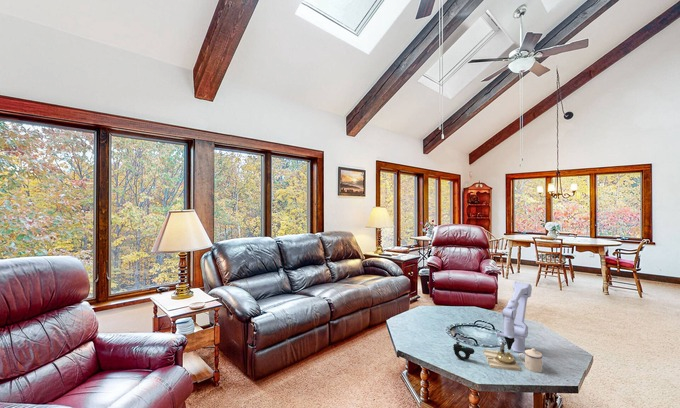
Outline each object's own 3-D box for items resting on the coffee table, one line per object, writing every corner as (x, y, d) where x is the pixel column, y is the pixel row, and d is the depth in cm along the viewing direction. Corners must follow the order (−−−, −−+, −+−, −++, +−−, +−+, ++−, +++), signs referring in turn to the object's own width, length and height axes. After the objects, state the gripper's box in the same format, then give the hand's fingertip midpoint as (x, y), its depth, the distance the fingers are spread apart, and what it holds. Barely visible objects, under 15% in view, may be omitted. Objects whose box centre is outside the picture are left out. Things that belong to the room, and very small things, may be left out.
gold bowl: (515, 364, 178) (515, 352, 178) (499, 362, 180) (499, 350, 180) (509, 353, 191) (509, 342, 190) (493, 352, 193) (493, 341, 193)
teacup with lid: (542, 367, 179) (542, 347, 179) (542, 374, 171) (542, 354, 171) (519, 361, 186) (519, 342, 185) (518, 368, 178) (518, 348, 178)
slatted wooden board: (483, 351, 197) (483, 349, 197) (510, 354, 193) (510, 352, 193) (490, 367, 179) (490, 364, 179) (520, 371, 175) (520, 368, 175)
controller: (454, 355, 193) (454, 339, 193) (474, 361, 186) (475, 344, 186) (452, 358, 190) (452, 342, 189) (473, 364, 183) (473, 347, 182)
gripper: (497, 328, 188) (497, 350, 188) (524, 331, 183) (523, 353, 183) (495, 324, 194) (495, 345, 195) (521, 327, 190) (521, 348, 190)
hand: (509, 349), depth 189 cm, fingers closed
